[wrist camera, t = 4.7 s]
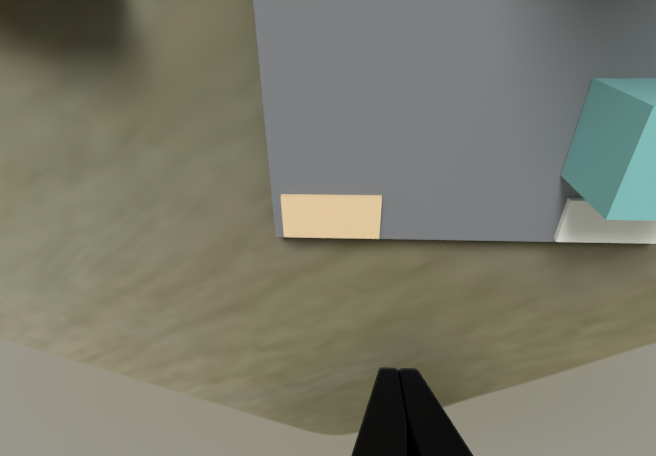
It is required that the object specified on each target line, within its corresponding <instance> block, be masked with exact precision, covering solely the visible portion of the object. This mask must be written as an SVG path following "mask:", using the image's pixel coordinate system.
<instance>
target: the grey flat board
mask: <svg viewBox="0 0 656 456" xmlns="http://www.w3.org/2000/svg"><path fill="white" fill-rule="evenodd" d="M253 4H254V15H255V25H256V36H257V46H258V57H259V67H260V78H261V88H262V99H263V110H264V120H265V131H266V141H267V152H268V162H269V173H270V183H271V194H272V205H273V215H274V226H275V236H276V237H298V238H356V239H416V240H474V241H532V242H588V243H645V244H656V221H643V220H605V219H604V218H603V217H602V216H601V215H600V214H599V213H598V212H597V211H596V210H595V209H594V208H593V207H592V206H591V205H590V204H589V203H588V202H587V201H586V200H585V199H584V198H583V197H582V196H581V195H580V194H579V193H578V192H577V191H576V190H575V189H574V188H573V187H572V186H571V185H570V184H569V183H568V182H567V181H566V180H565V179H564V178H563V177H562V176H561V173H562V170H563V167H564V164H565V161H566V158H567V155H568V152H569V149H570V146H571V143H572V140H573V137H574V134H575V131H576V127H577V124H578V121H579V118H580V115H581V112H582V109H583V106H584V103H585V100H586V97H587V94H588V91H589V88H590V85H591V82H592V79H593V78H656V0H253Z"/></svg>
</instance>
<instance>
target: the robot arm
mask: <svg viewBox="0 0 656 456" xmlns="http://www.w3.org/2000/svg"><path fill="white" fill-rule="evenodd" d="M352 456H473V454H472V453H471V451H470V450H469V448H468V447H467V445H466V444H465V442H464V440H463V439H462V437H461V436H460V434H459V433H458V431H457V430H456V428H455V427H454V425H453V423H452V422H451V420H450V419H449V417H448V416H447V414H446V413H445V411H444V409H443V408H442V406H441V405H440V403H439V402H438V400H437V399H436V397H435V396H434V394H433V392H432V391H431V389H430V388H429V386H428V385H427V383H426V382H425V380H424V379H423V377H422V375H421V374H420V372H419V371H418V370H417V369H414V368H400V369H399V370H397V369H396V368H385V367H382V368H380V369H379V371H378V374H377V377H376V380H375V383H374V386H373V389H372V393H371V396H370V399H369V402H368V405H367V408H366V411H365V415H364V418H363V421H362V424H361V427H360V430H359V434H358V437H357V440H356V443H355V446H354V449H353V453H352Z"/></svg>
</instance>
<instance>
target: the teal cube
mask: <svg viewBox="0 0 656 456" xmlns="http://www.w3.org/2000/svg"><path fill="white" fill-rule="evenodd" d="M561 176H562V177H563V178H564V179H565V180H566V181H567V182H568V183H569V184H570V185H571V186H572V187H573V188H574V189H575V190H576V191H577V192H578V193H579V194H580V195H581V196H582V197H583V198H584V199H585V200H586V201H587V202H588V203H589V204H590V205H591V206H592V207H593V208H594V209H595V210H596V211H597V212H598V213H599V214H600V215H601V216H602V217H603V218H604V219H605V220H643V221H656V78H593V79H592V82H591V85H590V88H589V91H588V94H587V97H586V100H585V103H584V106H583V109H582V112H581V115H580V118H579V121H578V124H577V127H576V131H575V134H574V137H573V140H572V143H571V146H570V149H569V152H568V155H567V158H566V161H565V164H564V167H563V170H562V173H561Z"/></svg>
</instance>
